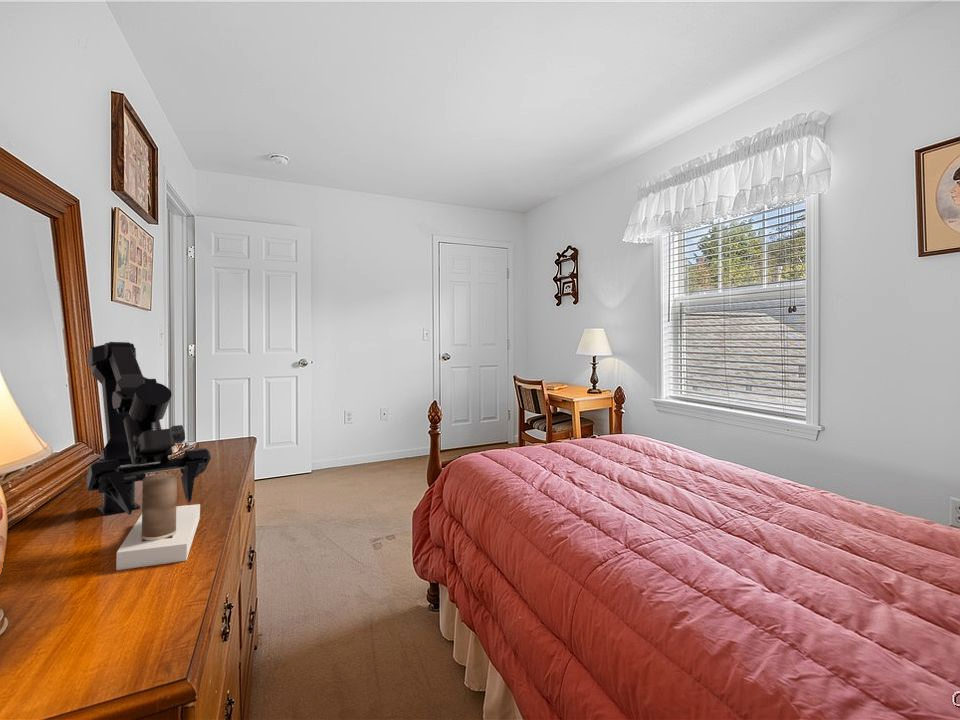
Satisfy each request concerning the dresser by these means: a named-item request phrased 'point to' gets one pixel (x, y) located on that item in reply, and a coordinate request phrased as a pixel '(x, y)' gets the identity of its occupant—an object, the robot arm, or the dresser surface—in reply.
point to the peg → (159, 507)
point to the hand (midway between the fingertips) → (161, 507)
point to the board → (160, 542)
